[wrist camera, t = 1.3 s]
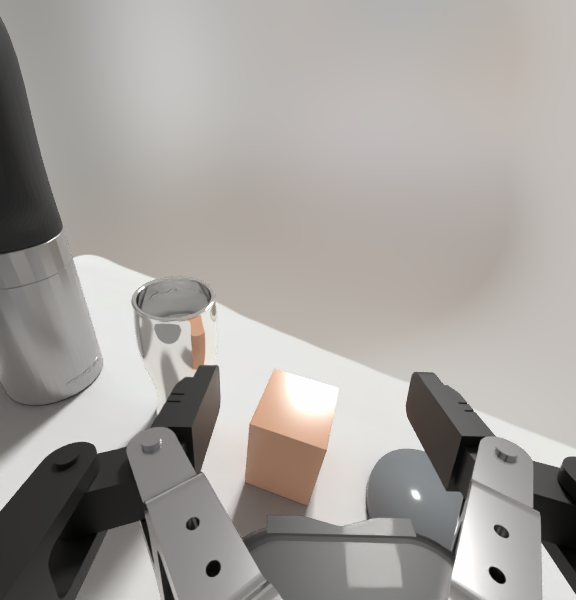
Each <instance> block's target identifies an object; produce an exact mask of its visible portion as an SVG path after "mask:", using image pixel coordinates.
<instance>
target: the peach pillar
mask: <svg viewBox="0 0 576 600" xmlns="http://www.w3.org/2000/svg"><path fill="white" fill-rule="evenodd" d="M338 389H339V388H335V387H332V386H329V385H326V384H322V383H319V382H316V381H313V380H309V379H306V378H303V377H299V376H296V375H293V374H290V373H286V372H283V371H280V370H276V369H274V371H273V373H272V375H271V378H270V380H269V382H268V384H267V386H266V389H265V391H264V393H263V395H262V397H261V400H260V402H259V404H258V406H257V409H256V411H255V413H254V415H253V417H252V420H251V422H250V425H249V437H248V449H247V461H246V473H245V483H248V484H251V485H253V486H256V487H259V488H261V489H264V490H267V491H269V492H272V493H275V494H277V495H280V496H283V497H285V498H288V499H291V500H293V501H296V502H299V503H301V504H304V505H306V506H308V503H309V500H310V497H311V495H312V492H313V489H314V486H315V483H316V480H317V477H318V474H319V471H320V468H321V465H322V462H323V460H324V457H325V454H326V451H327V446H328V441H329V436H330V431H331V426H332V420H333V415H334V410H335V405H336V400H337V394H338Z"/></svg>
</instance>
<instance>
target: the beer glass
mask: <svg viewBox="0 0 576 600" xmlns="http://www.w3.org/2000/svg"><path fill="white" fill-rule="evenodd" d="M132 306H133V317H134V328H135V335H136V341H137V346H138V350H139V354H140V357H141V359H142V362H143V364H144V367H145V369H146V371H147V373H148V375H149V377H150V379H151V381H152V383H153V385H154V387H155V389H156V392H157V397H158V400H157V409H156V414H157V416H158V414H159V412H160V411H161V409H162V407H163V405H164V404H165V402H166V400H167V398H168V397H169V395H170V394H171V392H172V390H173V388H174V386H175V385H176V384H177V383H178V382H179V381H181V380H182V379H183V378H184V377H193V376H194V374H195V372H196V371H197V369H198V367H199V365H214V364H215V359H216V354H217V347H218V319H217V309H216V302H215V292H214V290H213V288H212V287H211V286H210V285H209V284H207V283H206V282H204V281H202V280H199V279H196V278H192V277H185V276H171V277H164V278H160V279H156V280H153V281H150V282H148V283H146V284H144V285H142V286H141V287H140V288H138V289H137V290H136V291H135V293H134V294H133V296H132Z"/></svg>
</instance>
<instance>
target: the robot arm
mask: <svg viewBox="0 0 576 600" xmlns="http://www.w3.org/2000/svg"><path fill="white" fill-rule="evenodd" d="M102 366H103V358H102V355H101V351H100V348H99V345H98V341H97V338H96V334H95V331H94V327H93V324H92V321H91V317H90V314H89V311H88V307H87V304H86V301H85V297H84V294H83V291H82V287H81V284H80V281H79V277H78V274H77V271H76V267H75V264H74V261H73V257H72V254H71V251H70V248H69V245H68V241H67V238H66V235H65V231H64V228H63V225H62V221H61V218H60V215H59V212H58V209H57V206H56V203H55V200H54V197H53V194H52V191H51V187H50V184H49V181H48V177H47V174H46V171H45V167H44V164H43V160H42V157H41V153H40V149H39V145H38V141H37V137H36V133H35V128H34V124H33V120H32V116H31V111H30V107H29V103H28V98H27V94H26V90H25V85H24V82H23V78H22V74H21V70H20V67H19V63H18V59H17V56H16V53H15V51H14V48H13V45H12V42H11V40H10V36H9V34H8V32H7V30H6V27H5V25H4V23H3V21H2V19H1V17H0V382H1V383H2V385H3V387H4V388H5V390H6V392H7V393H8V395H9V397H11V398H12V399H13V400H14V401H16V402H19V403H21V404H28V405H43V404H49V403H54V402H57V401H60V400H64V399H66V398H68V397H71V396H73V395H75V394H77V393H78V392H80V391H82V390H83V389H85V388H86V387H87V386H88V385H90V384H91V383H92V382H93V381H94V380H95V379H96V378H97V376H98V375H99V373H100V372H101V369H102ZM219 409H220V377H219V367H218V365H199V367H198V369H197V371H196V372H195V374H194V376H193V377H184V378H183V379H182V380H181V381H179V382H178V383H177V384H176V385H175V386H174V388H173V390H172V392H171V394H170V395H169V397H168V398H167V400H166V402H165V404H164V405H163V407H162V409H161V411H160V412H159V414H158V416H157V417H156V419H155V421H154V423H153V424H152V426H151V428H150V429H147V430H144V431H142V432H140V433H139V434H137V435H136V436H135V437H133V438H132V439H131V441H130V442H129V444H128V446H127V447H124V448H121V449H117V450H112V451H108V452H103V453H98V454H97V451H96V448H95V446H94V445H93V444H91V443H87V442H76V443H72V444H68V445H66V446H63V447H61V448H59V449H57V450H55V451H54V452H52V453H51V454H49V455H48V456H47V457H46V458H45V459H44V460H43V461H42V462H41V463H40V465H39V466H38V467H37V468H36V469H35V471H34V472H33V473H32V474H31V475H30V477H29V478H28V479H27V480H26V481H25V483H24V484H23V485H22V486H21V487H20V489H19V490H18V491H17V492H16V493H15V495H14V496H13V497H12V498H11V499H10V501H9V502H8V503H7V504H6V505H5V507H4V508H3V509H2V510H1V511H0V600H75V598H76V596H77V594H78V592H79V590H80V588H81V586H82V584H83V581H84V579H85V577H86V575H87V573H88V571H89V569H90V567H91V564H92V562H93V560H94V558H95V556H96V554H97V552H98V550H99V548H100V545H101V543H102V541H103V539H104V537H105V535H106V533H107V531H108V530H109V529H112V528H115V527H119V526H122V525H126V524H129V523H132V522H136V521H139V523H140V526H141V529H142V533H143V536H144V539H145V543H146V546H147V549H148V553H149V556H150V559H151V563H152V566H153V569H154V573H155V577H156V580H157V585H158V589H159V593H160V597H161V600H542V561H541V543H542V544H543V546H544V547H545V549H546V550H547V552H548V553H549V555H550V556H551V558H552V559H553V561H554V562H555V564H556V565H557V567H558V568H559V570H560V571H561V573H562V574H563V576H564V577H565V579H566V580H567V582H568V583H569V585H570V586H571V588H572V589H573V591H574V592H575V594H576V457H567V458H565V459H564V460H563V463H562V465H561V467H560V468H558V467H554V466H550V465H546V464H542V463H539V462H535V461H532V459H531V457H530V456H529V455H528V454H527V453H526V452H525V451H524V450H523V449H522V448H520V447H519V446H518V445H516V444H514V443H512V442H510V441H508V440H506V439H503V438H499V437H496V436H495V435H494V434H493V433H492V431H491V430H490V429H489V428H488V427H487V426H486V424H485V423H484V422H483V421H482V420H481V418H480V417H479V416H478V415H477V414H476V413H475V412H474V411H473V409H472V408H471V407H470V405H469V404H467V402H466V401H465V400H464V398H463V397H462V396H461V395H460V394H459V393H458V392H457V391H455V390H454V389H452V388H451V387H449V386H448V385H444V384H443V383H442V382H441V381H440V380H439V378H438V377H437V376H436V375H435V374H434V373H428V372H414V373H413V374H412V377H411V381H410V386H409V392H408V397H407V402H406V413H407V417H408V419H409V421H410V423H411V425H412V427H413V429H414V431H415V433H416V435H417V437H418V438H419V440H420V442H421V444H422V446H423V448H424V450H425V452H426V454H427V456H428V457H429V459H430V461H431V463H432V465H433V467H434V469H435V471H436V473H437V475H438V476H439V478H440V480H441V482H442V484H443V486H444V488H445V490H446V491H449V492H461V494H462V496H463V499H462V502H461V506H460V510H459V514H458V518H457V522H456V527H455V531H454V535H453V539H452V543H451V547H450V550H448V549H447V548H446V547H444V546H443V545H441V544H439V543H438V542H436V541H434V540H432V539H430V538H428V537H426V536H424V535H421V534H419V533H415V531H414V528H413V525H412V523H411V520H410V519H405V518H372V519H369V520H365V521H361V522H357V523H353V524H349V525H346V526H336V525H333V524H329V523H326V522H322V521H319V520H315V519H312V518H308V517H305V516H287V515H268V517H267V528H264V529H261V530H258V531H255V532H253V533H251V534H249V535H247V536H245V537H244V538H242V539H241V537H240V535H239V534H238V532H237V530H236V528H235V527H234V525H233V523H232V521H231V520H230V518H229V516H228V514H227V513H226V511H225V509H224V507H223V506H222V504H221V502H220V500H219V499H218V497H217V495H216V493H215V492H214V490H213V488H212V486H211V485H210V483H209V481H208V479H207V478H206V476H205V475H204V473H203V472H200V471H201V468H202V464H203V461H204V458H205V455H206V452H207V448H208V445H209V442H210V439H211V436H212V432H213V429H214V426H215V423H216V420H217V416H218V413H219Z"/></svg>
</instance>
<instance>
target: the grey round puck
mask: <svg viewBox="0 0 576 600" xmlns="http://www.w3.org/2000/svg"><path fill="white" fill-rule="evenodd" d="M462 499H463V496H462V494H461V492H449V491H446V490H445V488H444V486H443V484H442V482H441V480H440V478H439V476H438V475H437V473H436V471H435V469H434V467H433V465H432V463H431V461H430V459H429V457H428V456H427V454H426V452H424V451H420V450H415V449H399V450H395V451H392V452H390V453H387V454H386V455H384V456H383V457H382V458H381V459H380V460H379V461H378V462H377V464H376V465H375V466H374V468H373V470H372V472H371V474H370V476H369V479H368V483H367V489H366V504H367V510H368V515H369V519H372V518H405V519H410V520H411V523H412V525H413V528H414V531H415V533H419V534H421V535H424V536H426V537H428V538H430V539H432V540H434V541H436V542H438V543H439V544H441V545H443V546H444V547H446V548H447V549H448V550H450V547H451V543H452V539H453V535H454V531H455V527H456V522H457V518H458V514H459V510H460V506H461V502H462Z"/></svg>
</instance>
